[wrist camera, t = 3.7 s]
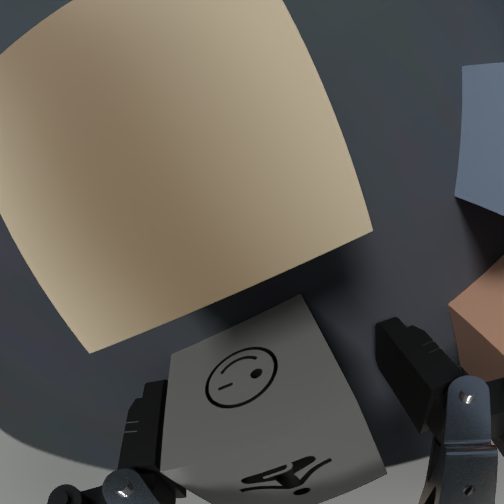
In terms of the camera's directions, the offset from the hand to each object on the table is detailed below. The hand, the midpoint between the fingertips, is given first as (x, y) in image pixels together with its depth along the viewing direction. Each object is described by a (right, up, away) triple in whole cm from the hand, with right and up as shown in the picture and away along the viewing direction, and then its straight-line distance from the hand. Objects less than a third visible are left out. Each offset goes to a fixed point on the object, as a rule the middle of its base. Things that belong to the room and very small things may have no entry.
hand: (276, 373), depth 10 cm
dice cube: (0, 0, +1) cm, 1 cm away
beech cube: (-3, +7, -2) cm, 8 cm away
